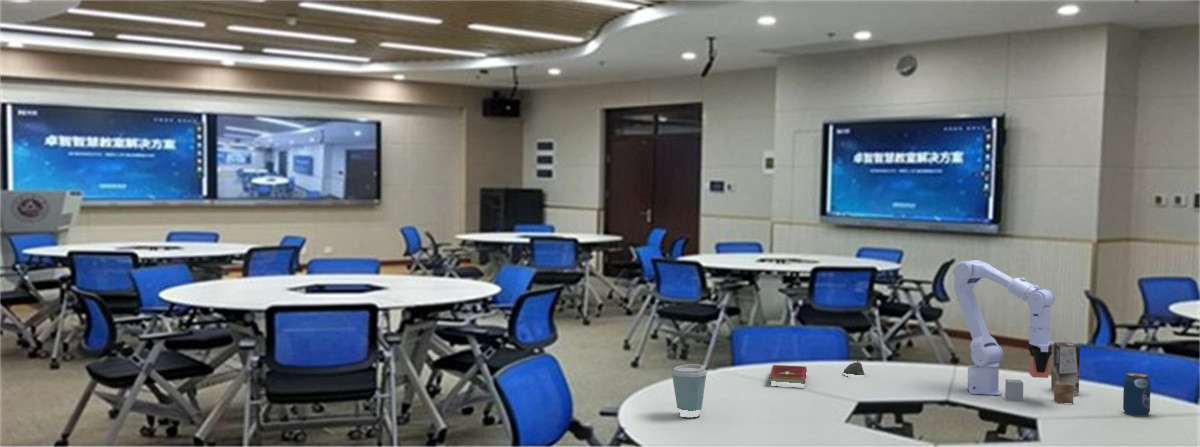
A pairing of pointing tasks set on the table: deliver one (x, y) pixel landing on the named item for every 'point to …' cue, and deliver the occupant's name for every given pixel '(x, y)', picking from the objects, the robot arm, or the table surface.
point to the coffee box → (1065, 364)
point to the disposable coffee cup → (689, 386)
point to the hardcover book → (788, 374)
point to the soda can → (1136, 394)
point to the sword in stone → (855, 367)
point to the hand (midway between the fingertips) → (1039, 370)
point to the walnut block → (1063, 392)
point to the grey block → (1014, 390)
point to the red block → (1034, 372)
